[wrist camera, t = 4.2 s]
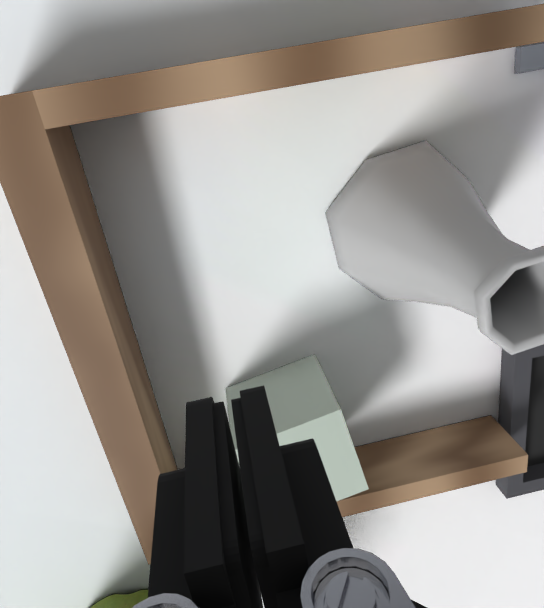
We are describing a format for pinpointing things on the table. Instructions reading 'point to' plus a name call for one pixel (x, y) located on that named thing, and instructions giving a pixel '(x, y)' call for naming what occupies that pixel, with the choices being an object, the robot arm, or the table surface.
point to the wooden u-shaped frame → (106, 289)
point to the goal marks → (529, 58)
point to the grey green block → (308, 419)
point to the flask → (437, 245)
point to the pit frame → (523, 416)
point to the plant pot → (122, 600)
